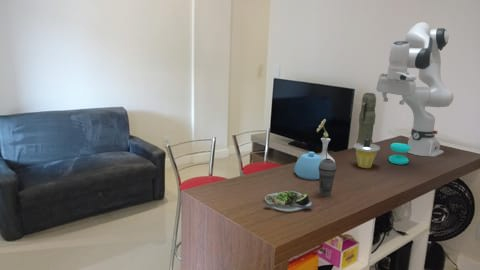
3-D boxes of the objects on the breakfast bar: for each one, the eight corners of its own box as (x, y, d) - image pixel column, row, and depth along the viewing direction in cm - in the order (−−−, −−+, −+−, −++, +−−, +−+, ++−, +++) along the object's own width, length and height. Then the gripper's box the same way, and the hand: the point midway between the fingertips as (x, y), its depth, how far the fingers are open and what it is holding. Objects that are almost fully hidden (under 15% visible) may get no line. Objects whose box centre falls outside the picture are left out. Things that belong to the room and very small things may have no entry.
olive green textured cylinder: (351, 152, 215) (357, 93, 206) (360, 148, 223) (366, 91, 215) (366, 155, 209) (372, 95, 201) (374, 151, 217) (381, 93, 209)
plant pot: (372, 163, 195) (374, 146, 193) (377, 170, 185) (379, 151, 183) (352, 162, 196) (354, 145, 194) (356, 168, 186) (358, 150, 184)
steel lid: (364, 143, 197) (365, 134, 196) (385, 149, 186) (386, 139, 185) (348, 146, 190) (349, 137, 189) (368, 153, 179) (369, 143, 178)
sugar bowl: (288, 175, 175) (289, 152, 172) (305, 167, 186) (306, 146, 183) (315, 183, 165) (317, 159, 162) (331, 175, 176) (333, 152, 173)
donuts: (388, 144, 195) (394, 141, 203) (385, 162, 197) (391, 158, 205) (407, 148, 189) (413, 144, 196) (405, 166, 191) (410, 162, 199)
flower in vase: (318, 159, 200) (321, 114, 194) (338, 163, 193) (342, 117, 187) (307, 165, 189) (311, 118, 183) (328, 170, 183) (332, 121, 177)
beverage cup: (330, 199, 148) (334, 152, 143) (313, 195, 152) (317, 149, 147) (336, 193, 154) (340, 148, 149) (319, 189, 158) (323, 145, 153)
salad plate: (273, 218, 131) (274, 207, 130) (253, 199, 147) (253, 188, 146) (319, 210, 138) (320, 199, 137) (295, 193, 154) (295, 183, 153)
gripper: (375, 73, 186) (372, 100, 189) (411, 77, 169) (407, 106, 172) (383, 73, 189) (380, 99, 193) (419, 76, 172) (415, 105, 176)
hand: (393, 102), depth 182 cm, fingers open, 8 cm apart
